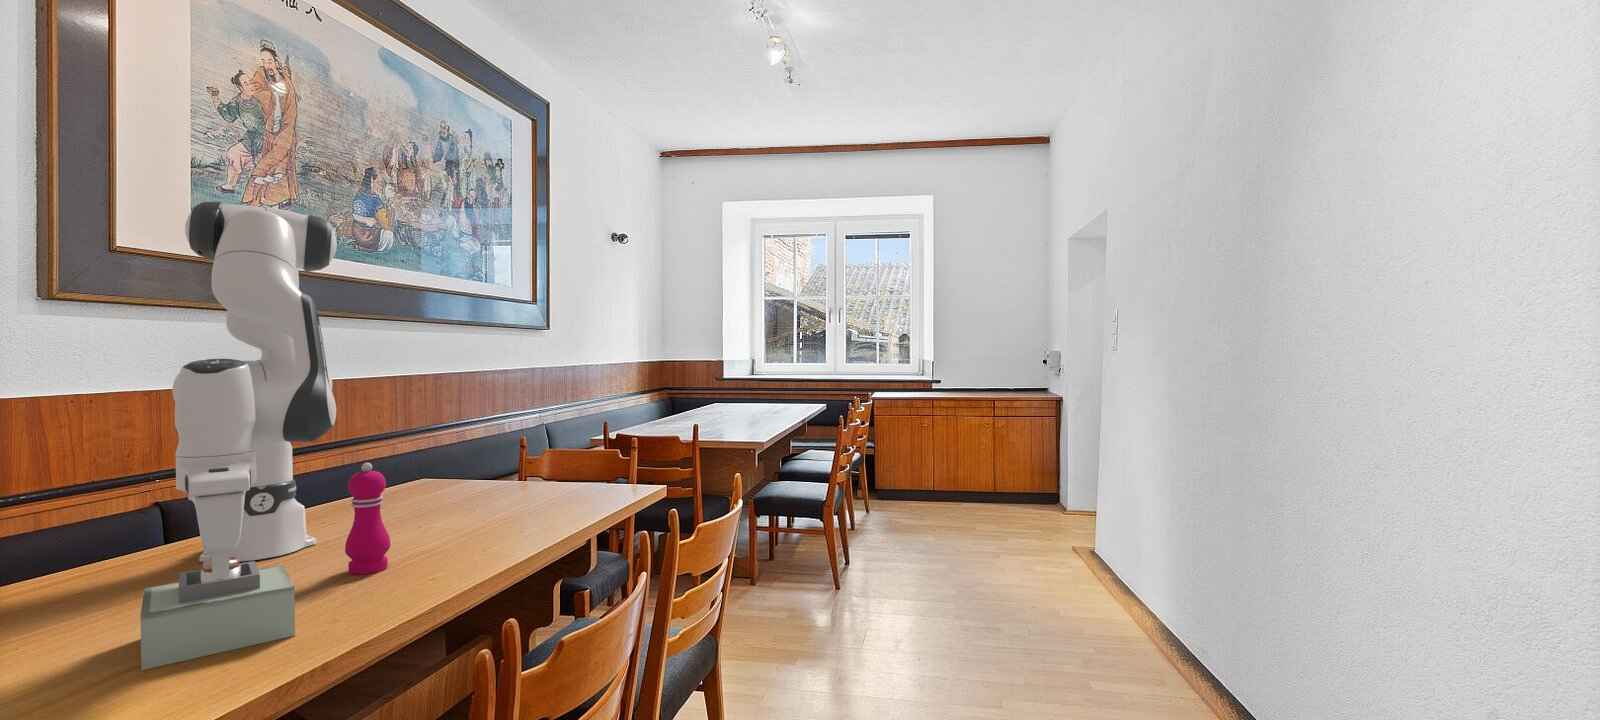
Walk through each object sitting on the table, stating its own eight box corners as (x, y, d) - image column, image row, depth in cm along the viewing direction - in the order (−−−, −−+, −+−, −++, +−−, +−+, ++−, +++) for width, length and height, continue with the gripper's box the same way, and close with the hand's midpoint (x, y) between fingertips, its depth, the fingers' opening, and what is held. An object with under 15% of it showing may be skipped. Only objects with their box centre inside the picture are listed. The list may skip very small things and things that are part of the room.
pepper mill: (369, 576, 126) (367, 466, 126) (335, 574, 127) (333, 465, 127) (399, 564, 133) (398, 460, 133) (367, 562, 134) (365, 459, 134)
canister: (198, 630, 100) (200, 549, 100) (238, 622, 103) (239, 543, 103) (200, 639, 96) (202, 556, 96) (241, 631, 100) (242, 550, 99)
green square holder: (145, 637, 100) (144, 574, 100) (284, 608, 110) (283, 552, 110) (141, 670, 89) (140, 600, 89) (295, 635, 100) (294, 573, 100)
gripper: (187, 466, 105) (188, 558, 105) (188, 486, 90) (190, 592, 90) (240, 462, 109) (242, 549, 110) (250, 479, 94) (252, 581, 94)
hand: (219, 569), depth 100 cm, fingers open, 8 cm apart
